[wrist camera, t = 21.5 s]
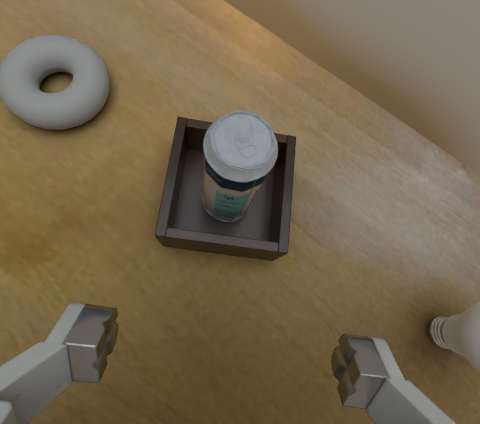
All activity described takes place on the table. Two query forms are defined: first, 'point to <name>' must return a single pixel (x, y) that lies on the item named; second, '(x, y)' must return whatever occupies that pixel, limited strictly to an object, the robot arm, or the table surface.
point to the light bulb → (459, 334)
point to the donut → (43, 64)
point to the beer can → (236, 163)
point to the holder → (207, 227)
